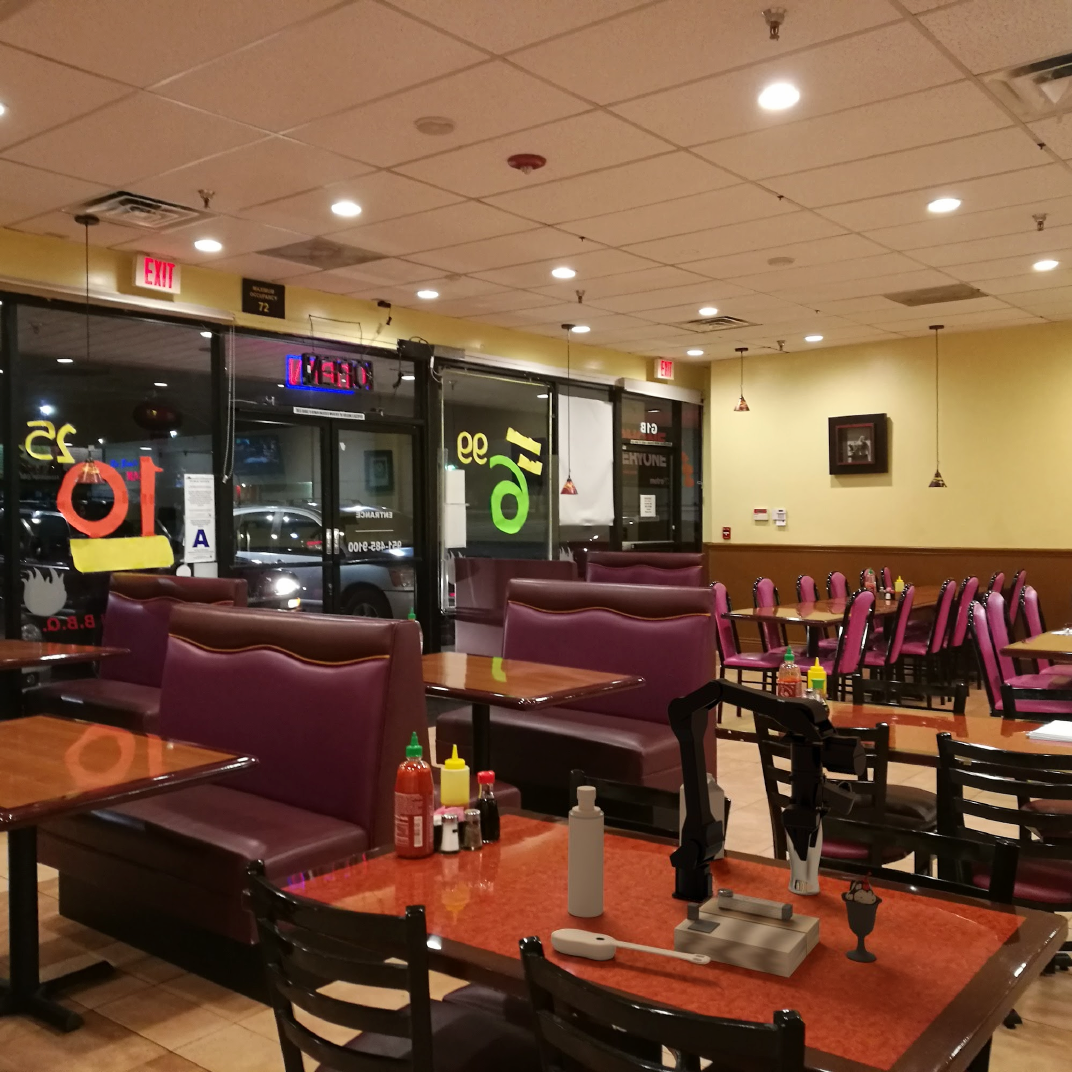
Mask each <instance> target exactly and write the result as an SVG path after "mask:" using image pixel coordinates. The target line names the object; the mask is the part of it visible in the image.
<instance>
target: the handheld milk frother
mask: <svg viewBox="0 0 1072 1072" xmlns="http://www.w3.org/2000/svg"><path fill="white" fill-rule="evenodd" d="M550 936H551V937H550V938H551V939H550V943H551V945H552V948H554V950H555V951H558V952H560V953H561V954H565V955H571V956H577V957H583V958H587V959H589V960H590V959H591V960H596V961H607V960H611V959H613V958H614V956H615V953H616V950H617V948H621V949H627V950H632V951H638V952H643V953H647V954H654V955H659V956H664V957H670V958H674V959H679V960H685V961H688V962H690V963H693V964H700V965H707V964H709V963H711V961H712V960H711V958H710V957H708V956H705V955H700V954H687V953H681V952H676V951H674V950H670V949H665V948H659V947H653V946H650V945H649V946H647V945H643V944H638V943H633V942H625V941H621V940H617V939H615V938H614V937H612V936H609V935H608V934H603V933H596V932H592V931H588V930H584V929H583V930H582V929H578V928H576V929H575V928H562V929H557V930H554V931H553V932H552V933H551V935H550ZM701 957H702V958H701Z"/></svg>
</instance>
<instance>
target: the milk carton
mask: <svg viewBox="0 0 1072 1072" xmlns="http://www.w3.org/2000/svg"><path fill="white" fill-rule="evenodd" d="M707 782H708V791H709V801H710V810H711V813H712V815H713V817H714V818H715V820H716V821H718V820H722V822H723V835H724V836H725V790H724V789H723V788H722V787H721V786H720V785H719V784H718V783H716V778H714V777H713V774H712V773H709V772H707ZM685 817H686V806H685V796H684V787H683V783H682V784H681V786H680V787H679V847H680V846H681V830H682V827H683V824H684V821H685ZM724 856H725V841H723V845H722V849H721V850H720V851H719V853H718V854H716V855H715V858H714V860H718V859H724V858H725V857H724Z"/></svg>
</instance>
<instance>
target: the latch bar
mask: <svg viewBox="0 0 1072 1072" xmlns="http://www.w3.org/2000/svg"><path fill="white" fill-rule="evenodd" d="M717 899H718V907H723V908H728V909H733V910H738V911H743V912H748V913H753V914H758V915H763V916H768V917H773V918H778V919H782V920H787V921H788V920H789V919H790V918H791V917H792V916H793V912H794V906H793V904H792V903H786V902H780V901H776V900H770V899H764V898H759V897H754V896H748V895H744V894H738V893H734V890H733V889H730V888H724V887H723V888H719V889H717Z"/></svg>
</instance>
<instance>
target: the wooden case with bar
mask: <svg viewBox="0 0 1072 1072" xmlns="http://www.w3.org/2000/svg"><path fill="white" fill-rule="evenodd" d="M673 931H674V933H673V934H674V936H673V937H674V938H673V951H676V952H681V953H687V954H700V955H705V956H708V957H710V958H711V960H710V961H713V962H718V963H722V964H727V965H731V966H734V967H735V966H736V967H738V968H739V967H740V968H744V969H749V970H753V971H757V972H762V973H766V974H771V975H776V976H779V977H784V978H787V979H788V978H790V977H791V975H792V974H793V973H794V972H795V971H796V969H798V967H799V966H800V965H801V964H802V962H803V961H804V960H805V959H806V957H807V956H808V955H809V954H810V953H811V952H812V950H813V949H814V948H815V947H816V946H817V944H818V943H819V942H820V918H819V917H815V916H808V915H805V914H799V913H795V912H794V913H793V916H792V917H791V918H790V919H789V920H788V921H787V920H782V919H778V918H773V917H768V916H763V915H758V914H753V913H748V912H743V911H738V910H733V909H728V908H723V907H718V897H717V898H716V897H711V898H710V899H709V900H708V901H706V902H704V904H703V905H702V906H700V904H699V903H696V902H689V903H688V904H687V905H686V918H685V919H684V920H683V921H681V923H679V924H678V925H677V926H675V927H674V929H673ZM701 958H702V957H701Z"/></svg>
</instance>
